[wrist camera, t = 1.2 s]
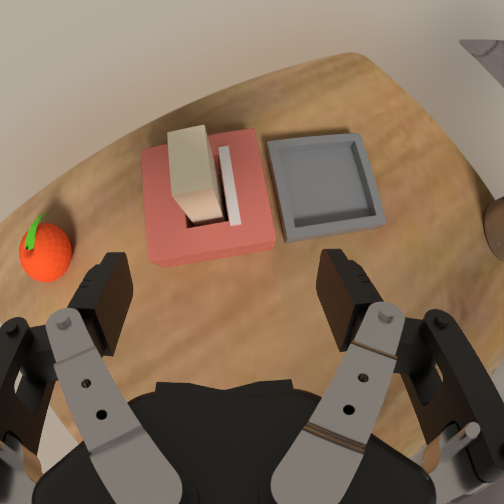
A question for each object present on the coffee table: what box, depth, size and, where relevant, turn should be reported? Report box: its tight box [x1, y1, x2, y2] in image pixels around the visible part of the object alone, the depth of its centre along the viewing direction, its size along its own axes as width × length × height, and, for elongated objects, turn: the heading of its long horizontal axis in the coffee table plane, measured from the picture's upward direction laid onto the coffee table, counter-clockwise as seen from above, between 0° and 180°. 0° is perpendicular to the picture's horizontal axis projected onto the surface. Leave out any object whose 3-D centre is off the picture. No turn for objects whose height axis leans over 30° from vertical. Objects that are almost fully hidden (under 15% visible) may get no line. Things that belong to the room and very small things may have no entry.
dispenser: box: [142, 128, 276, 267], centre depth 30 cm, size 12×12×6 cm
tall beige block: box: [167, 125, 226, 227], centre depth 27 cm, size 3×6×12 cm, turn 10°
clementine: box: [19, 213, 72, 282], centre depth 29 cm, size 8×7×7 cm
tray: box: [266, 133, 386, 243], centre depth 32 cm, size 11×11×2 cm
